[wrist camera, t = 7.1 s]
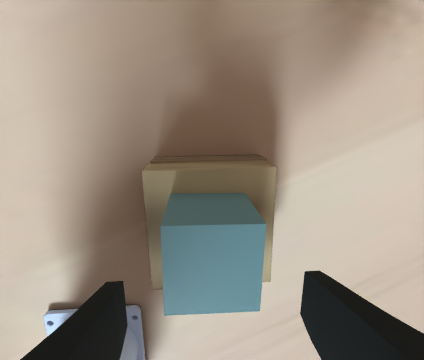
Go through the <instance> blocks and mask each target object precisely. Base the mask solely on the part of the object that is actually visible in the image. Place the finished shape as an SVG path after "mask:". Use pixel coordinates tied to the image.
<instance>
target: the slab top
mask: <svg viewBox="0 0 424 360" xmlns="http://www.w3.org/2000/svg"><path fill="white" fill-rule="evenodd" d="M276 169H277V167H276V166H274V165H272V164H270V163H269V162H267V161H265V160H254V161H219V162H184V163H149V164H148V165H147V166H146V167H145V168H144V169H143V170H142V171H141V172H142V183H143V194H144V205H145V216H146V227H147V238H148V250H149V261H150V272H151V283H152V289H163V272H162V248H161V223H162V220H163V216H164V213H165V210H166V207H167V203H168V200H169V197H170V194H171V193H245V194H246V195H247V197H248V198H249V200H250V201H251V202H252V204H253V205H254V207H255V208H256V210H257V211H258V213H259V214H260V215H261V217H262V218H263V220H264V221H265V223H266V236H265V250H264V263H263V276H262V282H271V263H272V244H273V225H274V206H275V187H276Z"/></svg>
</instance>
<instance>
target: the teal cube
mask: <svg viewBox="0 0 424 360" xmlns="http://www.w3.org/2000/svg"><path fill="white" fill-rule="evenodd" d="M265 236H266V223H265V221H264V220H263V218H262V217H261V215H260V214H259V213H258V211H257V210H256V208H255V207H254V205H253V204H252V202H251V201H250V200H249V198H248V197H247V195H246V194H245V193H171V194H170V197H169V200H168V203H167V207H166V210H165V213H164V216H163V220H162V223H161V248H162V272H163V297H164V316H167V315H188V314H210V313H231V312H252V311H260V302H261V289H262V276H263V263H264V250H265Z"/></svg>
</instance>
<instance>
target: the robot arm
mask: <svg viewBox="0 0 424 360" xmlns="http://www.w3.org/2000/svg"><path fill="white" fill-rule="evenodd" d="M300 314H301V317H302V319H303V322H304V324H305V327H306V329H307V332H308V334H309V336H310V339H311V341H312V343H313V345H314V347H315V348H316V350H317V352H318V354H319V356H320V358H321V359H322V360H424V334H423V333H421V332H420V331H418V330H416V329H414V328H412V327H411V326H409V325H407V324H405V323H404V322H402V321H400V320H398V319H397V318H395V317H393V316H391V315H390V314H388V313H386V312H385V311H383V310H381V309H380V308H378V307H377V306H375V305H373V304H372V303H370V302H368V301H367V300H365V299H364V298H362V297H361V296H359V295H357V294H356V293H354V292H353V291H351V290H350V289H348V288H347V287H345V286H343V285H342V284H340V283H339V282H337V281H336V280H334V279H332V278H331V277H329V276H328V275H326V274H324V273H322V272H321V271H305V275H304V284H303V294H302V303H301V312H300ZM134 315H135V316H137V317H134ZM43 319H44V324H45V328H46V333H47V337H46V338H45V339H44V340H43V341H42V342H41V343H40V344H38V345H37V346H36V347H35V348H34V349H33V350H31V351H30V352H29V353H28V354H27V355H25V356H24V357H23V358H22V359H20V360H145V350H144V339H143V329H142V318H141V309H140V307H139V306H137V305H130V306H126V304H125V295H124V286H123V281H116V282H106V283H105V284H104V285H103V286H102V287H101V288H100V289H99V290H98V291H97V292H96V293H94V294H93V295H92V296H91V297H90V298H89V299H88V300H87V301H86V302H85V303H84V304H83V305H82V306H81V307H80V308H79V309H66V310H50V311H48V312H46V314H45V315H44V317H43ZM51 321H52V322H51Z"/></svg>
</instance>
